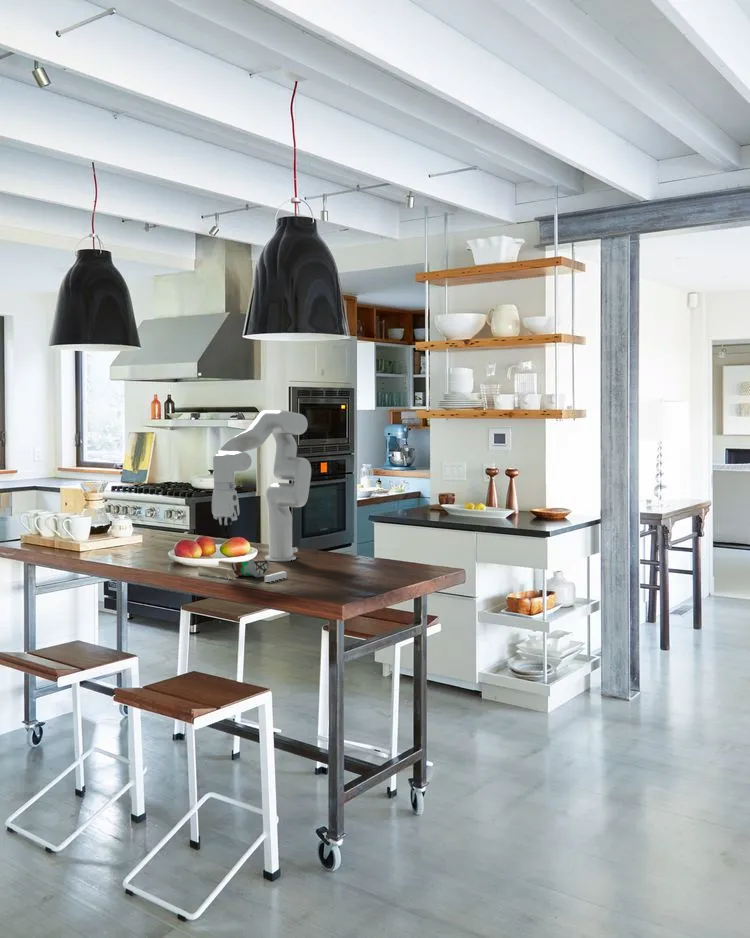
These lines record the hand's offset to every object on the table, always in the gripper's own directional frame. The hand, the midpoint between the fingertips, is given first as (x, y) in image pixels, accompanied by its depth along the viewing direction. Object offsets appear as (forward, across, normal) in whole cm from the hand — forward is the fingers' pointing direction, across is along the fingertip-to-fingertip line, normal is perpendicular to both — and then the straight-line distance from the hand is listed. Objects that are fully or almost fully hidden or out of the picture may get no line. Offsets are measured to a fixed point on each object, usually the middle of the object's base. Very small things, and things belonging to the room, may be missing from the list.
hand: (225, 535), depth 341 cm
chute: (+14, -2, +2) cm, 15 cm away
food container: (+13, -7, +2) cm, 14 cm away
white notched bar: (+14, -24, +2) cm, 28 cm away
